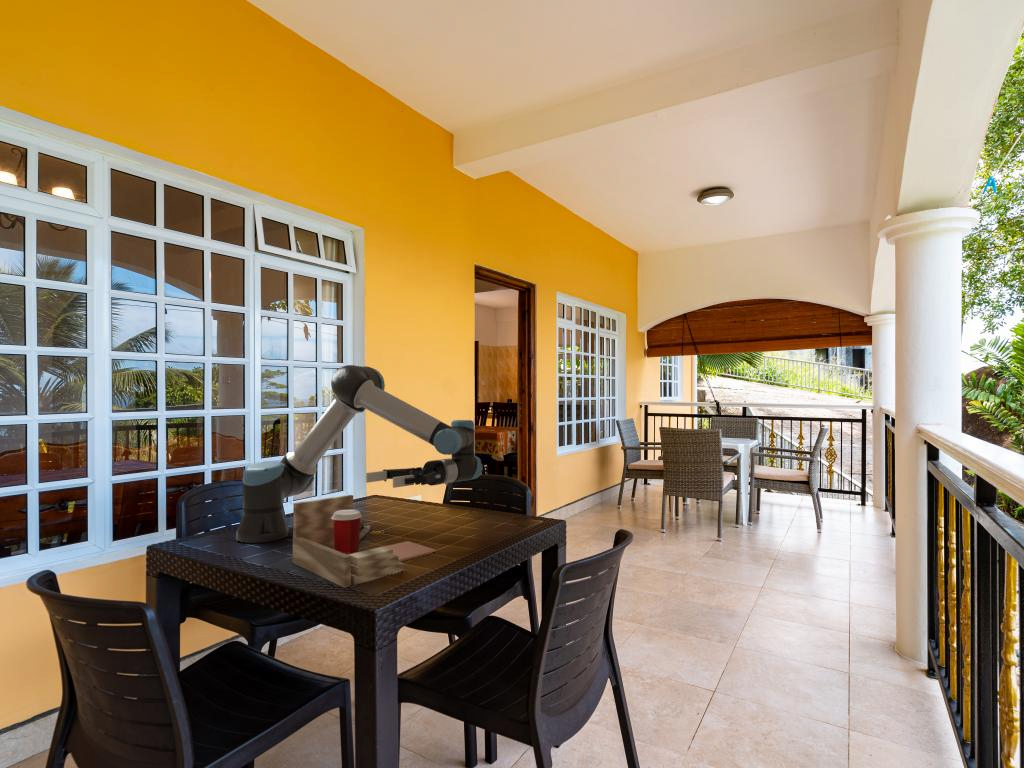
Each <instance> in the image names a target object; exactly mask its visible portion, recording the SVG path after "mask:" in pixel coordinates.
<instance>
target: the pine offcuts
mask: <svg viewBox="0 0 1024 768" xmlns="http://www.w3.org/2000/svg"><path fill="white" fill-rule="evenodd" d="M348 555H349V556H351V585H353V586H357V585H359V584H364V583H366V582H370V581H374V580H378V579H381V578H384V576H385V577H388V576H387V575H389V576H392V575H396V574H399V573H402V572H401V571H403V572H405V568H404V567H405V566H404V565H405V563H403V562H402V561H401V562H398V556H395V555H393V550H392V549H389V548H386V547H384V546H379V547H374V548H371V549H366V550H363V551H361V550H360V551H358V552H357V553H353V554H348ZM398 572H399V573H398ZM395 573H396V574H395ZM391 574H392V575H391ZM363 582H364V583H363Z"/></svg>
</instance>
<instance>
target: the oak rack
mask: <svg viewBox="0 0 1024 768" xmlns="http://www.w3.org/2000/svg"><path fill="white" fill-rule="evenodd" d="M292 504H293V507H292V508H293V514H292V515H293V517H292V519H293V522H292V523H293V526H292V527H293V529H292V530H293V533H292V564H295V566H296V565H297V566H299V567H301V568H302V569H305V570H307V571H309V572H310V573H313V574H315V575H317V576H319V577H322V578H323V579H326V580H328V581H329V582H331V583H334V584H335V585H338V586H339V587H342V588H344V589H345V588H348V587H349V588H350V587H351V585H352V584H351V556H349V555H346V554H344V553H341V552H339V551H336V550H335V549H334V530H333V519H331V518H332V516H333V514H334V512H336V511H340V510H354V494H353V495H352V494H346V495H340V496H333V497H326V498H321V499H320V498H319V499H314V500H313V499H312V500H306V501H299V502H293V503H292Z"/></svg>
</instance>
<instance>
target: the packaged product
mask: <svg viewBox="0 0 1024 768" xmlns="http://www.w3.org/2000/svg"><path fill="white" fill-rule="evenodd" d="M364 522H365V519H364V518H362V517H361V518H360V536H359V541H361V540H362V539H363V538H364V537H365V536H366V535H367V534H368V533H369V531H370V530H371V525H365V524H364Z"/></svg>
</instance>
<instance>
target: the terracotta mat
mask: <svg viewBox="0 0 1024 768" xmlns="http://www.w3.org/2000/svg"><path fill="white" fill-rule="evenodd" d="M383 547H386V548H389V549H392V550H393V555H395V556H398V562H401V563H402V562H404V561H408V560H411V559H416V558H419V556H420V557H423V556H422V555H424V556H426V555H425V554H427V555H430V554H429V553H431V554H433V553H432V552H435V551H438V550H437V549H434V548H431V547H427V546H425V545H421V544H419V543H415V542H412V541H410V540H408V541H403V542H397V543H394V544H389V545H384V546H383ZM435 553H436V552H435Z"/></svg>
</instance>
